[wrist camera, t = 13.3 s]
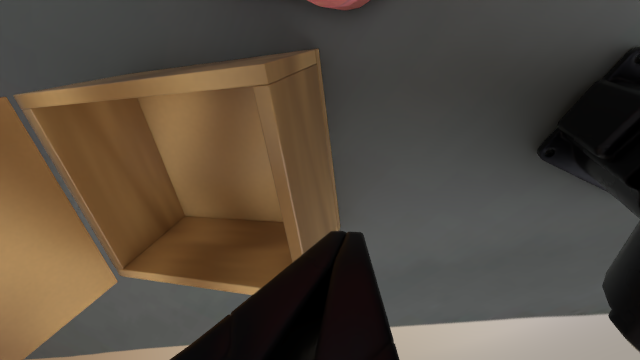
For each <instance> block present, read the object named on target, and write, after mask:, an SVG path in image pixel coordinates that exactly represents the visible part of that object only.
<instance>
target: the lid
mask: <svg viewBox="0 0 640 360" xmlns="http://www.w3.org/2000/svg"><path fill="white" fill-rule="evenodd" d="M117 282H118V281H117V280H116V278H115V276H114V275H113V273H112V271H111V270H110V268H109V266H108V265H107V263H106V261H105V260H104V258H103V256H102V255H101V253H100V251H99V250H98V248H97V246H96V245H95V243H94V242H93V240H92V238H91V237H90V235H89V233H88V232H87V230H86V228H85V227H84V225H83V223H82V222H81V220H80V218H79V217H78V215H77V213H76V212H75V210H74V208H73V207H72V205H71V203H70V202H69V200H68V198H67V197H66V195H65V193H64V192H63V190H62V188H61V187H60V185H59V184H58V182H57V180H56V179H55V177H54V175H53V174H52V172H51V170H50V169H49V167H48V165H47V164H46V162H45V160H44V159H43V157H42V155H41V154H40V152H39V150H38V149H37V147H36V145H35V144H34V142H33V140H32V139H31V137H30V135H29V134H28V132H27V130H26V129H25V127H24V126H23V124H22V122H21V121H20V119H19V117H18V116H17V114H16V112H15V111H14V109H13V107H12V106H11V104H10V102H9V101H8V99H7V97H0V360H23V359H24V358H26V357H27V356H28V355H29V354H30V353H32V352H33V351H34V350H35V349H37V348H38V347H39V346H40V345H41V344H43V343H44V342H45V341H46V340H48V339H49V338H50V337H51V336H52V335H54V334H55V333H56V332H57V331H58V330H60V329H61V328H62V327H63V326H65V325H66V324H67V323H68V322H69V321H71V320H72V319H73V318H74V317H76V316H77V315H78V314H79V313H80V312H82V311H83V310H84V309H85V308H87V307H88V306H89V305H90V304H91V303H93V302H94V301H95V300H96V299H97V298H99V297H100V296H101V295H102V294H104V293H105V292H106V291H107V290H108V289H110V288H111V287H112V286H113V285H115V284H116V283H117Z"/></svg>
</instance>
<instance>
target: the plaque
mask: <svg viewBox="0 0 640 360" xmlns="http://www.w3.org/2000/svg"><path fill="white" fill-rule="evenodd" d="M307 1H309V2H311V3H313V4H315V5H318V6H321V7H327V8H333V9H339V10H350V9H355V8H360V7H361V6H363V5H364V4H366V3H367V2H368V1H370V0H307Z"/></svg>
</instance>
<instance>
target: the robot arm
mask: <svg viewBox="0 0 640 360" xmlns="http://www.w3.org/2000/svg"><path fill="white" fill-rule="evenodd" d="M639 54H640V47H636V48H634V49H631V50H630V51H629V52H628V53H626V54H625V55H624V57H623V58H622V59H621V60H620V61H619V62H618V63H617V64H616V65H615V66H614V67H613V68H612V69H611V71H610V72H609V73H608V74H607V75H606V76H605V77H604V78H603V79H602V80H601V81H598V82H595V83H594V84H593V85H592V87H591V88H590V89H589V90H588V91H587V92H586V93H585V94H584V95H583V96H582V97H581V98H580V100H579V101H578V102H577V103H576V104H575V105H574V106H573V107H572V108H571V109H570V110H569V111H568V113H567V114H566V115H565V116H564V117H563V118H562V119H561V120H560V121H559V122H558V127H557V129H556V130H555V131H554V132H553V133H552V134H551V135H550V136H549V137H548V138H547V139H546V140H545V141H544V142H543V144H542V145H541V146H540V147H539V148H538V150H537V154H538V156H539V157H540V158H541V159H542V160H544V161H546V162H548V163H550V164H552V165H554V166H556V167H558V168H560V169H562V170H564V171H566V172H568V173H570V174H572V175H575V176H577V177H579V178H581V179H583V180H585V181H587V182H589V183H591V184H593V185H595V186H597V187H599V188H601V189H603V190H605V191H607V192H609V193H611V194H612V195H613V196H614V197H615V198H616V199H618V200H619V201H620V202H621V203H622V204H623V205H625V206H626V207H627V208H628V209H629V210H630V211H631V212H633V213H634V214H635V215H636V216H637V217H638V218H640V61H639V62H638V63H635V62H634V61H635V58H636V56H638V55H639ZM549 149H552V150H553V151H552V152H551V153H550V154H548V155H545V152H546V151H547V150H549ZM602 287H603V289H604V292H605V295H606V298H607V300H608V303H609V306H610V307H611V309H612V310H611V312H610V313H609V315H608V316H609V318H610V320H611V321H612V322H613V323H614V325H615V326H616V327H617V329H618V330H619V331H620V332H621V334H622V335H623V336H624V337H625V338H626V339H627V341H628V342H629V343H630V344H631V345H632V346H633V347H635V349H637V350H638V351H639V352H640V221H639V223H638V224H637V226H636V227H635V229H634V230H633V232H632V233H631V235H630V237H629V238H628V240H627V241H626V243H625V244H624V246H623V247H622V249H621V251H620V252H619V254H618V255H617V257H616V258H615V260H614V262H613V263H612V265H611V266H610V268H609V269H608V271H607V272H606V275H605V279H604V282H603V286H602ZM170 360H399V357H398V354H397V350H396V347H395V344H394V341H393V337H392V333H391V330H390V326H389V323H388V319H387V316H386V312H385V309H384V305H383V302H382V298H381V295H380V291H379V288H378V284H377V281H376V277H375V274H374V270H373V267H372V263H371V260H370V256H369V253H368V249H367V246H366V242H365V239H364V235H363V233H361V232H348V233H346V232H344V231H331V232H329V233H328V234H327V235H326V236H324V237H323V238H322V239H321V240H319V241H318V242H317V243H316V244H314V245H313V246H312V247H311V248H310V249H308V250H307V251H306V252H305V253H303V254H302V255H301V256H300V257H299V258H297V259H296V260H295V261H294V262H292V263H291V264H290V265H289V266H288V267H286V268H285V269H284V270H283V271H281V272H280V273H279V274H278V275H277V276H275V277H274V278H273V279H272V280H270V281H269V282H268V283H267V284H265V285H264V286H263V287H262V288H261V289H259V290H258V291H257V292H256V293H254V294H253V295H252V296H251V297H250V298H248V299H247V300H246V301H245V302H243V303H242V304H241V305H240V306H239V307H237V308H236V309H235V310H234V311H232V313H231V315H227V316H226V317H225V318H224V319H222V320H221V321H220V322H219V323H218V324H216V325H215V326H214V327H213V328H211V329H210V330H209V331H207V332H206V333H205V334H204V335H202V336H201V337H200V338H198V339H197V340H196V341H195V342H193V343H192V344H191V345H189V346H188V347H187V348H185V349H184V350H183V351H181V352H180V353H178V354H177V355H176V356H174V357H173V358H171V359H170Z"/></svg>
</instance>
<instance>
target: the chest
mask: <svg viewBox="0 0 640 360" xmlns="http://www.w3.org/2000/svg"><path fill="white" fill-rule="evenodd" d="M13 96H14V98H15V100H16V101H17V103H18V105H19V106H20V108H21V109H22V111H23V113H24V115H25V116H26V118H27V120H28V121H29V123H30V125H31V126H32V128H33V130H34V131H35V133H36V135H37V137H38V138H39V140H40V142H41V143H42V145H43V147H44V148H45V150H46V152H47V153H48V155H49V157H50V159H51V160H52V162H53V164H54V165H55V167H56V169H57V170H58V172H59V174H60V175H61V177H62V179H63V180H64V182H65V184H66V186H67V187H68V189H69V191H70V192H71V194H72V196H73V197H74V199H75V201H76V202H77V204H78V206H79V208H80V209H81V211H82V213H83V214H84V216H85V218H86V219H87V221H88V223H89V224H90V226H91V228H92V229H93V231H94V233H95V235H96V236H97V238H98V240H99V241H100V243H101V245H102V246H103V248H104V250H105V251H106V253H107V255H108V257H109V258H110V260H111V262H112V263H113V265H114V267H115V268H116V270H117V271H118V273H119V275H120V276H124V277H131V278H138V279H145V280H152V281H158V282H165V283H172V284H179V285H186V286H193V287H200V288H207V289H214V290H221V291H227V292H234V293H241V294H248V295H253V294H254V293H256V292H257V291H258V290H259V289H261V288H262V287H263V286H264V285H265V284H267V283H268V282H269V281H270V280H272V279H273V278H274V277H275V276H277V275H278V274H279V273H280V272H281V271H283V270H284V269H285V268H286V267H288V266H289V265H290V264H291V263H292V262H294V261H295V260H296V259H297V258H299V257H300V256H301V255H302V254H303V253H305V252H306V251H307V250H308V249H310V248H311V247H312V246H313V245H314V244H316V243H317V242H318V241H319V240H321V239H322V238H323V237H324V236H326V235H327V234H328V233H329V232H331V231H339V229H340V219H339V211H338V203H337V195H336V187H335V179H334V170H333V162H332V154H331V146H330V138H329V130H328V122H327V114H326V105H325V97H324V89H323V81H322V73H321V65H320V57H319V49H310V50H302V51H295V52H288V53H280V54H273V55H265V56H258V57H250V58H243V59H236V60H228V61H221V62H213V63H206V64H198V65H191V66H184V67H176V68H169V69H161V70H154V71H146V72H139V73H132V74H125V75H120V76H114V77H109V78H104V79H98V80H93V81H87V82H82V83H76V84H71V85H65V86H60V87H54V88H49V89H43V90H38V91H33V92H27V93H22V94H16V95H13Z"/></svg>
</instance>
